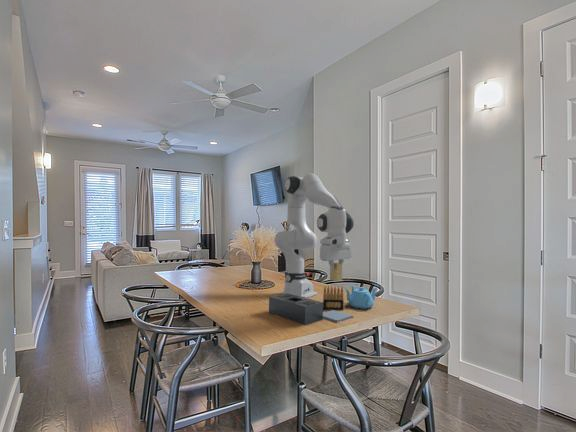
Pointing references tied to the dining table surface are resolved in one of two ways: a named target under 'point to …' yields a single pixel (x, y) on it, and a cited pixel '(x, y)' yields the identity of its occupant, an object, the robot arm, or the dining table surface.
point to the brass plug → (336, 272)
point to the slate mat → (336, 316)
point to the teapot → (361, 297)
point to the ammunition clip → (333, 299)
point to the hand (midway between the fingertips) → (336, 269)
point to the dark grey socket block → (296, 308)
